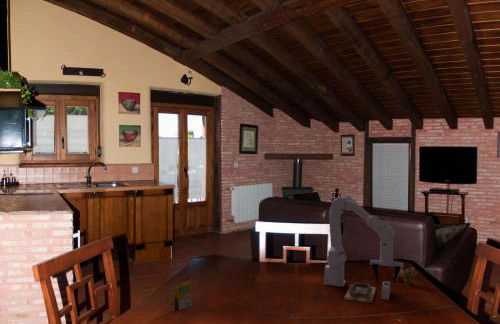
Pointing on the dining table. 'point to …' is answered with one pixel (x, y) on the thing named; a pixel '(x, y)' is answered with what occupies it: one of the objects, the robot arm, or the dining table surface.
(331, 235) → the robot arm
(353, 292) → the cradle jig
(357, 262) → the dining table surface
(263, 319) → the dining table surface
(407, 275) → the lion figurine
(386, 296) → the grey pillar with nub
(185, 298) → the crayon box
